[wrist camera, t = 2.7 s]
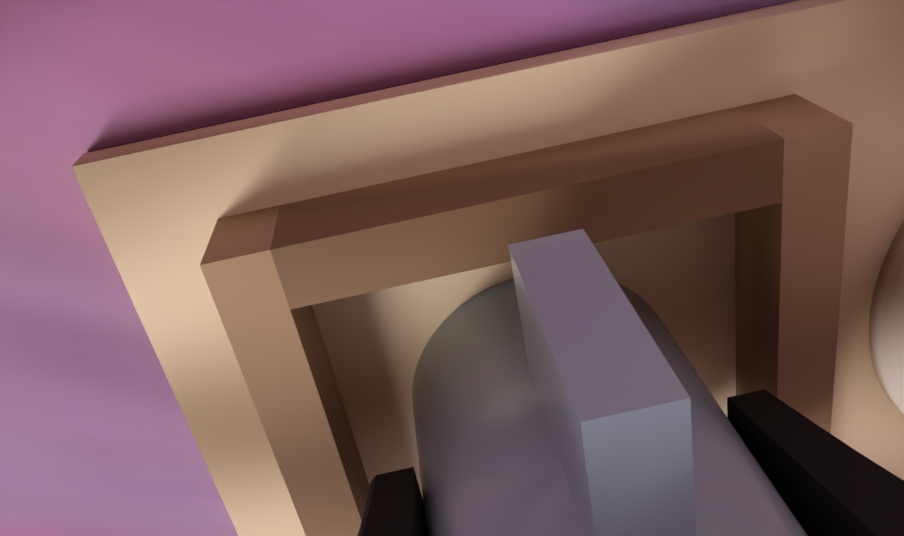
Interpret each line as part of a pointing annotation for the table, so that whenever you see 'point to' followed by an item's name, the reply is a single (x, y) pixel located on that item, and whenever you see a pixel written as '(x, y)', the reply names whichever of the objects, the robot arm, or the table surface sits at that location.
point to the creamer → (576, 415)
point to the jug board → (524, 238)
